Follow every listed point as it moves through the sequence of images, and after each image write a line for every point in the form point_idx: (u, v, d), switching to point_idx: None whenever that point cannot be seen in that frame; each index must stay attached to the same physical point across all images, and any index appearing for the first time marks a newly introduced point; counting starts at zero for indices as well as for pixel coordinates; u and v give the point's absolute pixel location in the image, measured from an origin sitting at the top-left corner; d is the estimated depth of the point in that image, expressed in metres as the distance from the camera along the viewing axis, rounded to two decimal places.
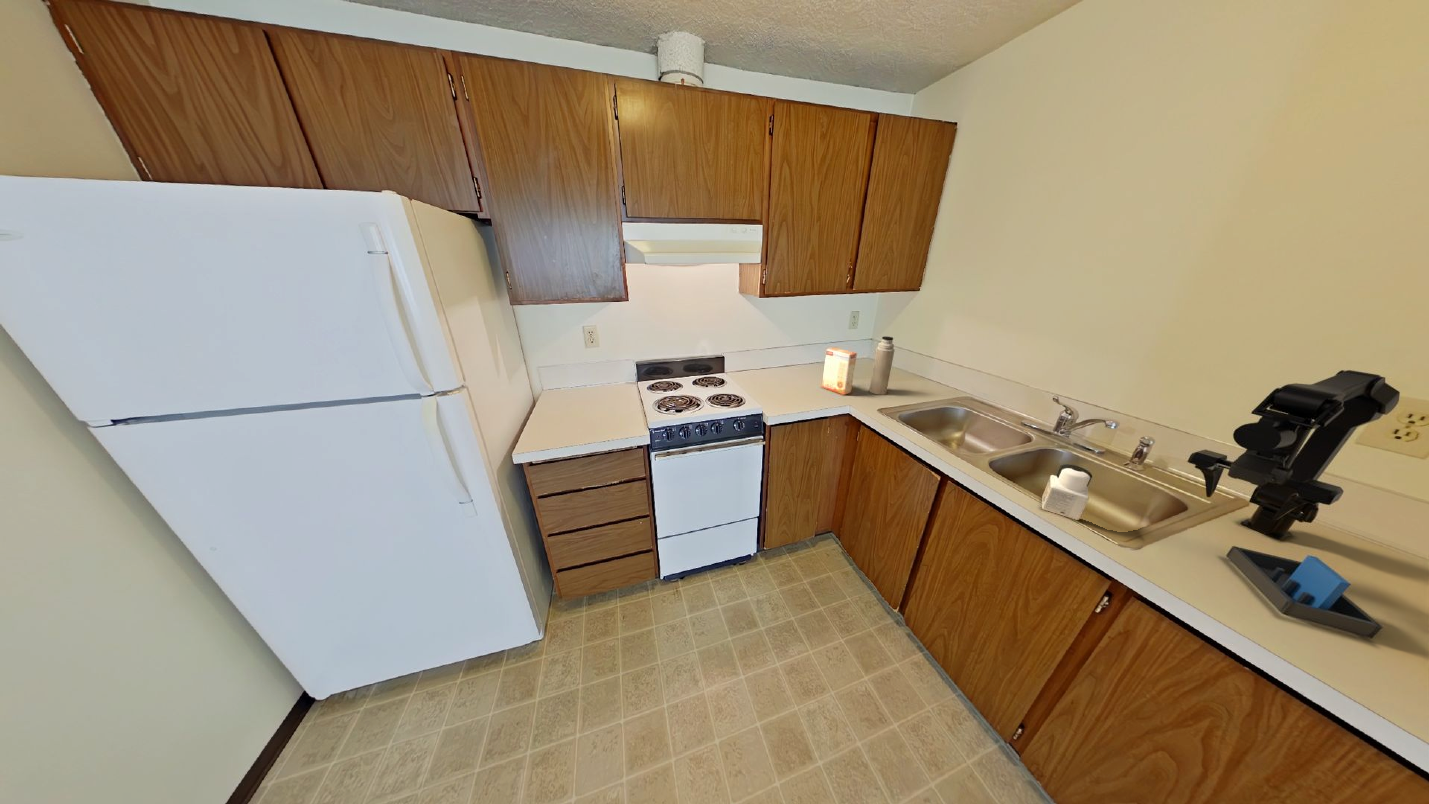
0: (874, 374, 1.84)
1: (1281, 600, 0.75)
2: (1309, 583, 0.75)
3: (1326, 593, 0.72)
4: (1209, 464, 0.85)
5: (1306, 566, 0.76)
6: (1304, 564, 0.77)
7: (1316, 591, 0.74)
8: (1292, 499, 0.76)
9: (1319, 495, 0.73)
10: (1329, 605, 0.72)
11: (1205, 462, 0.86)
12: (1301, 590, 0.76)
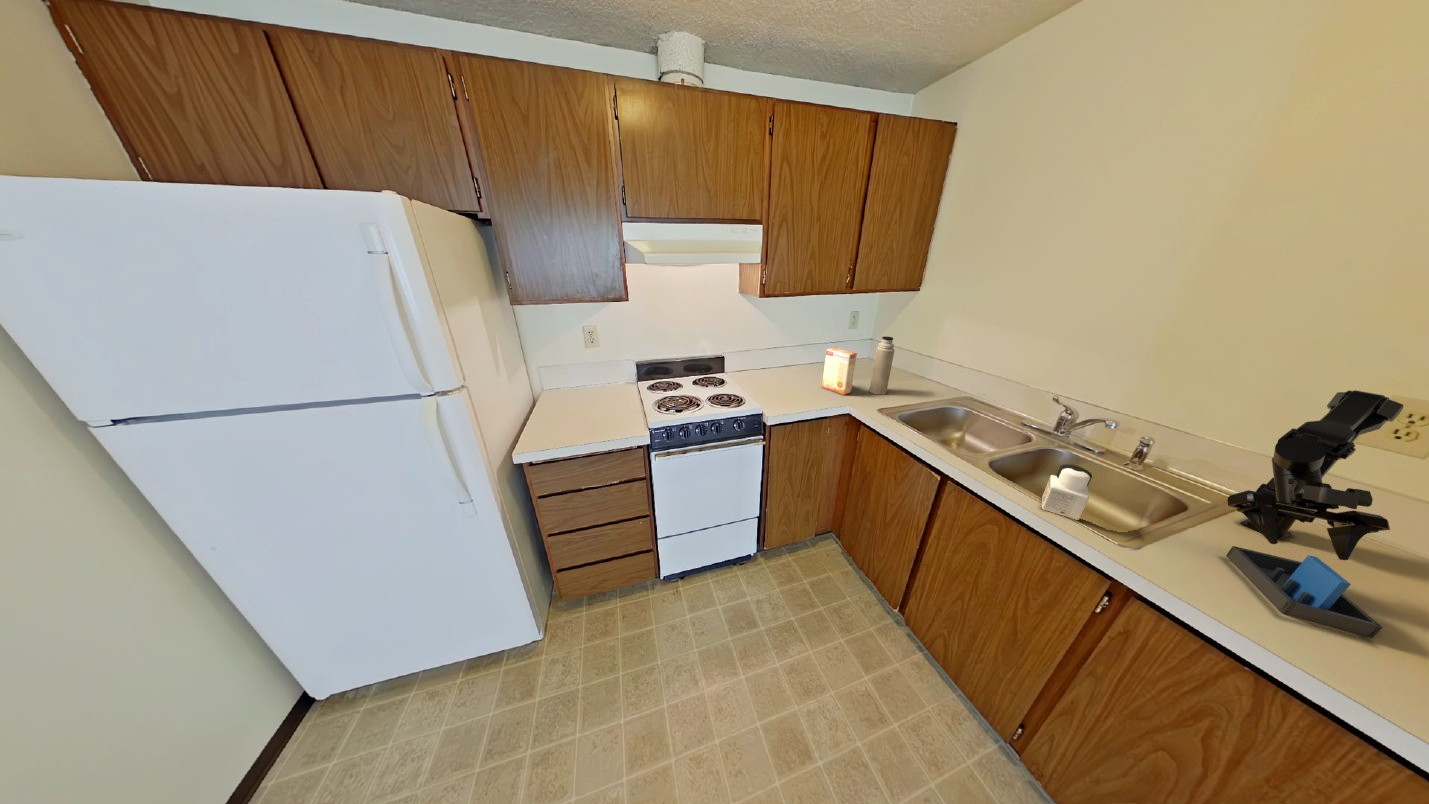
0: (874, 374, 1.84)
1: (1281, 600, 0.75)
2: (1309, 583, 0.75)
3: (1326, 593, 0.72)
4: (1272, 500, 0.79)
5: (1306, 566, 0.76)
6: (1304, 564, 0.77)
7: (1316, 591, 0.74)
8: (1358, 529, 0.74)
9: (1380, 520, 0.74)
10: (1329, 605, 0.72)
11: (1267, 499, 0.80)
12: (1301, 590, 0.76)
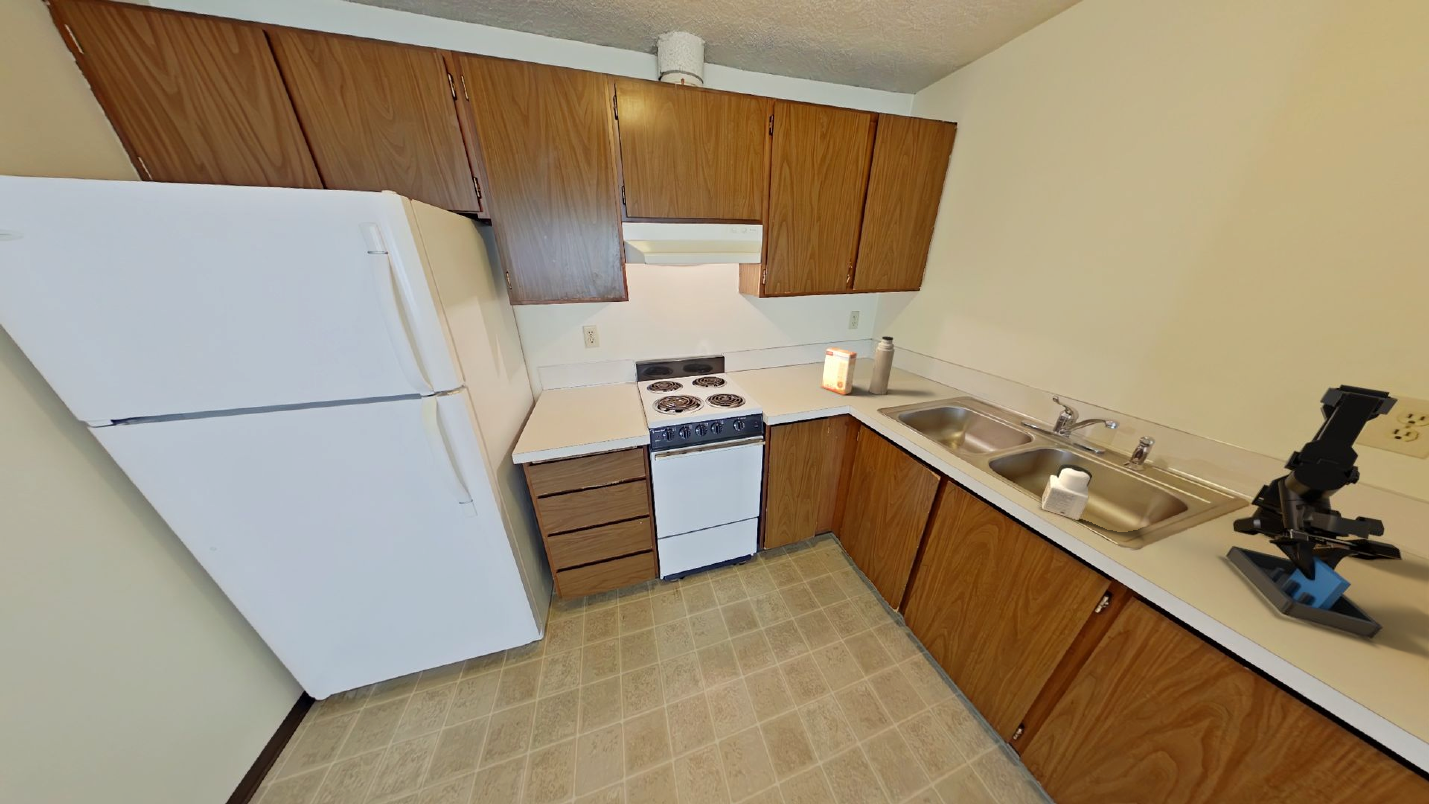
0: (874, 374, 1.84)
1: (1281, 600, 0.75)
2: (1309, 583, 0.75)
3: (1326, 593, 0.72)
4: (1280, 527, 0.77)
5: None
6: None
7: (1316, 591, 0.74)
8: (1338, 552, 0.74)
9: (1392, 549, 0.71)
10: (1329, 606, 0.72)
11: (1275, 525, 0.77)
12: (1301, 590, 0.76)
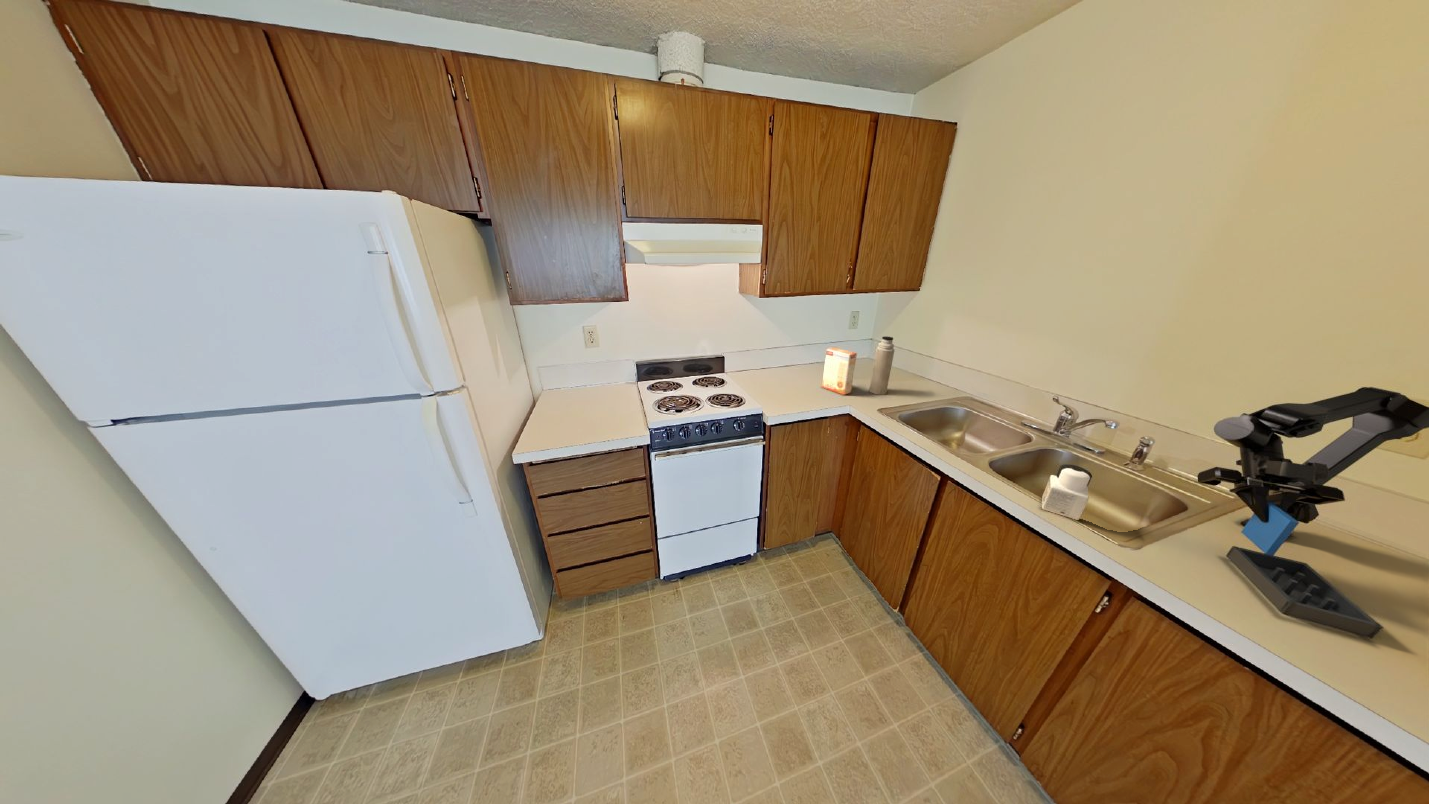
0: (874, 374, 1.84)
1: (1281, 600, 0.75)
2: (1264, 525, 0.82)
3: (1278, 532, 0.79)
4: (1238, 475, 0.84)
5: None
6: None
7: (1269, 531, 0.81)
8: (1288, 495, 0.81)
9: (1336, 491, 0.78)
10: (1281, 544, 0.79)
11: (1234, 474, 0.84)
12: (1257, 532, 0.83)
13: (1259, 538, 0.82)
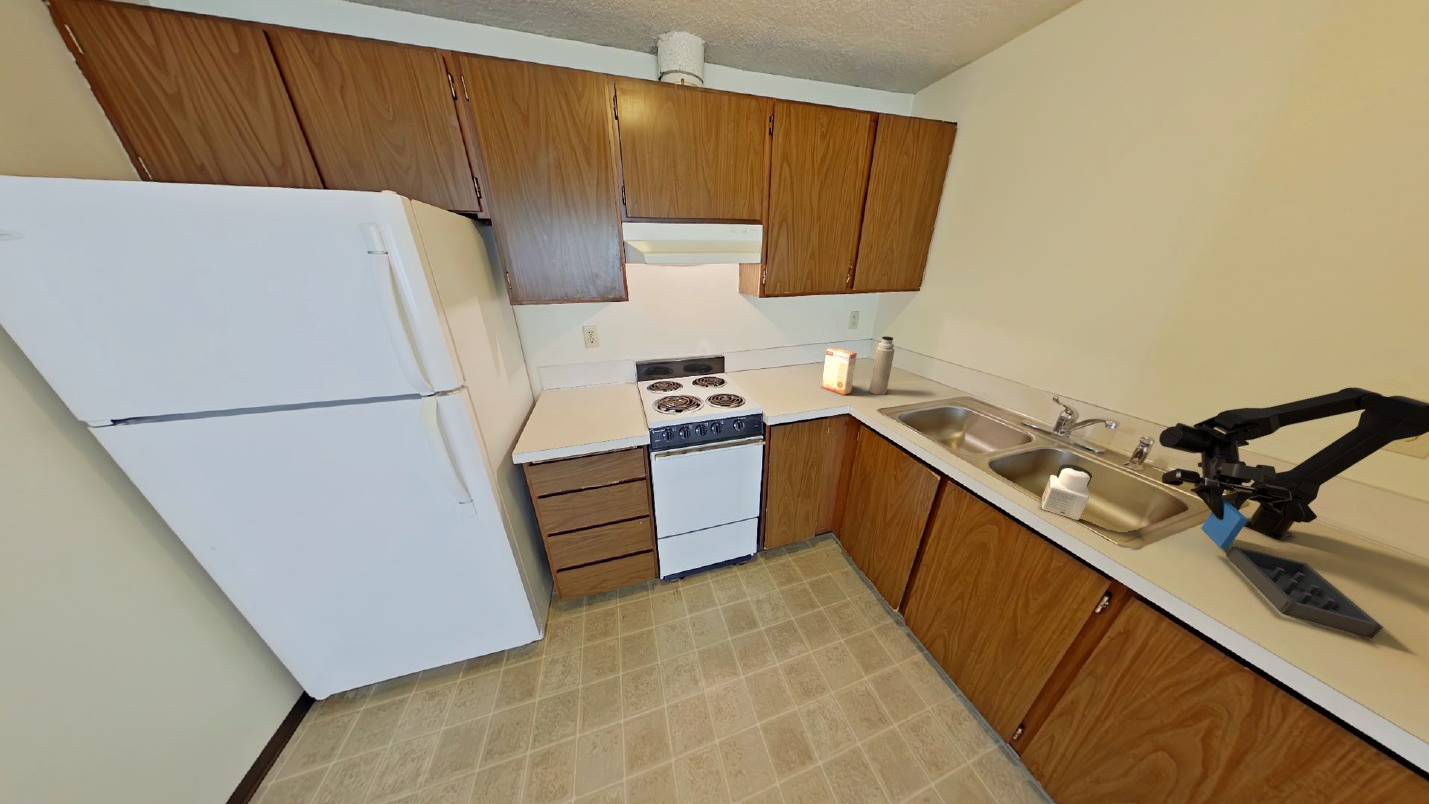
0: (874, 374, 1.84)
1: (1281, 600, 0.75)
2: (1219, 522, 0.89)
3: (1230, 528, 0.86)
4: (1196, 476, 0.91)
5: None
6: None
7: (1223, 528, 0.88)
8: (1241, 495, 0.88)
9: (1284, 491, 0.86)
10: (1233, 539, 0.87)
11: (1193, 475, 0.92)
12: (1213, 529, 0.91)
13: (1215, 534, 0.90)
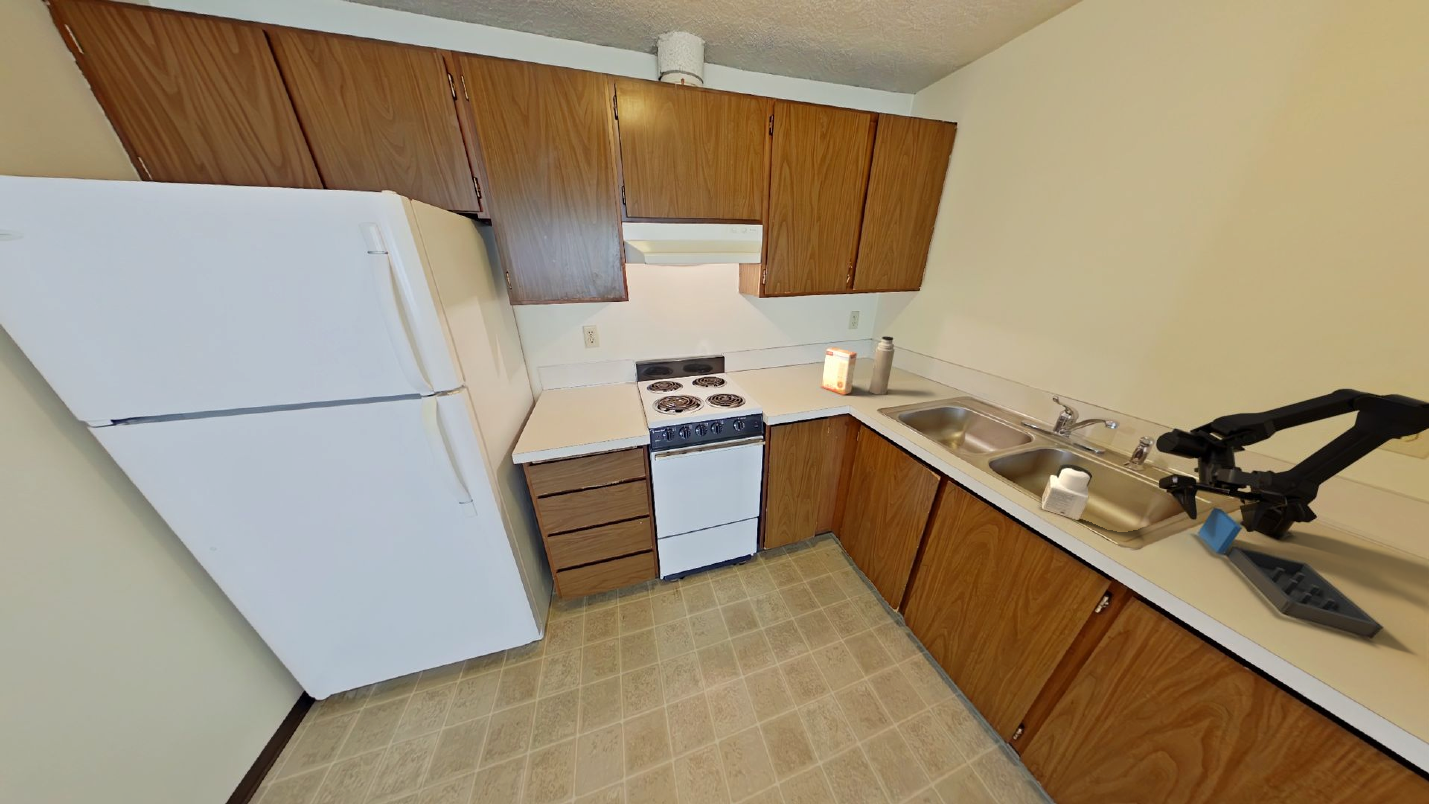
0: (874, 374, 1.84)
1: (1281, 600, 0.75)
2: (1214, 530, 0.90)
3: (1224, 537, 0.87)
4: (1193, 482, 0.92)
5: (1212, 517, 0.92)
6: (1211, 515, 0.92)
7: (1218, 536, 0.89)
8: (1261, 505, 0.87)
9: (1279, 497, 0.86)
10: (1227, 547, 0.88)
11: (1189, 480, 0.92)
12: (1208, 537, 0.92)
13: (1210, 542, 0.91)
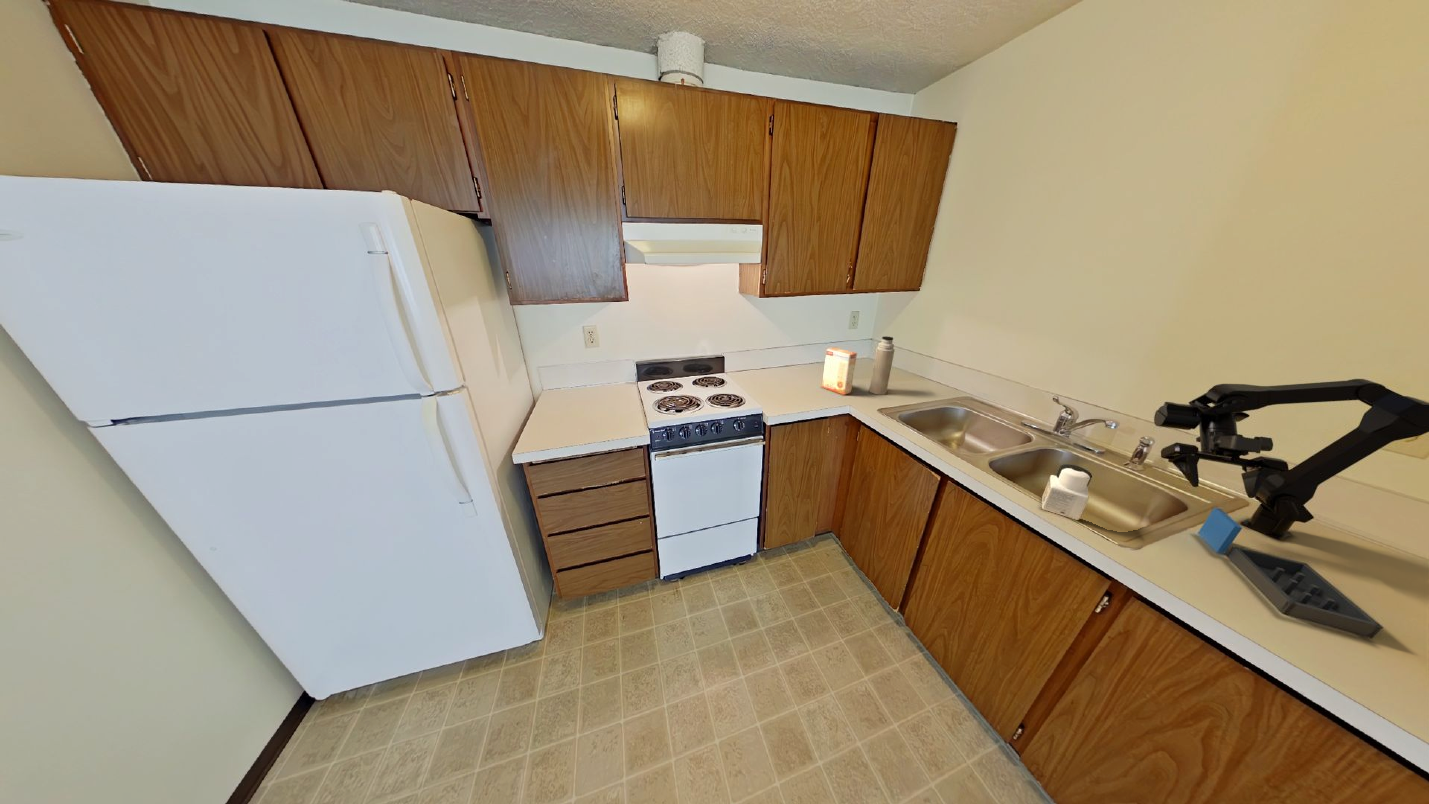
0: (874, 374, 1.84)
1: (1281, 600, 0.75)
2: (1214, 530, 0.90)
3: (1224, 537, 0.87)
4: (1195, 450, 0.92)
5: (1212, 517, 0.92)
6: (1211, 515, 0.92)
7: (1218, 536, 0.89)
8: (1263, 471, 0.88)
9: (1281, 462, 0.87)
10: (1227, 547, 0.88)
11: (1191, 448, 0.93)
12: (1208, 537, 0.92)
13: (1210, 542, 0.91)
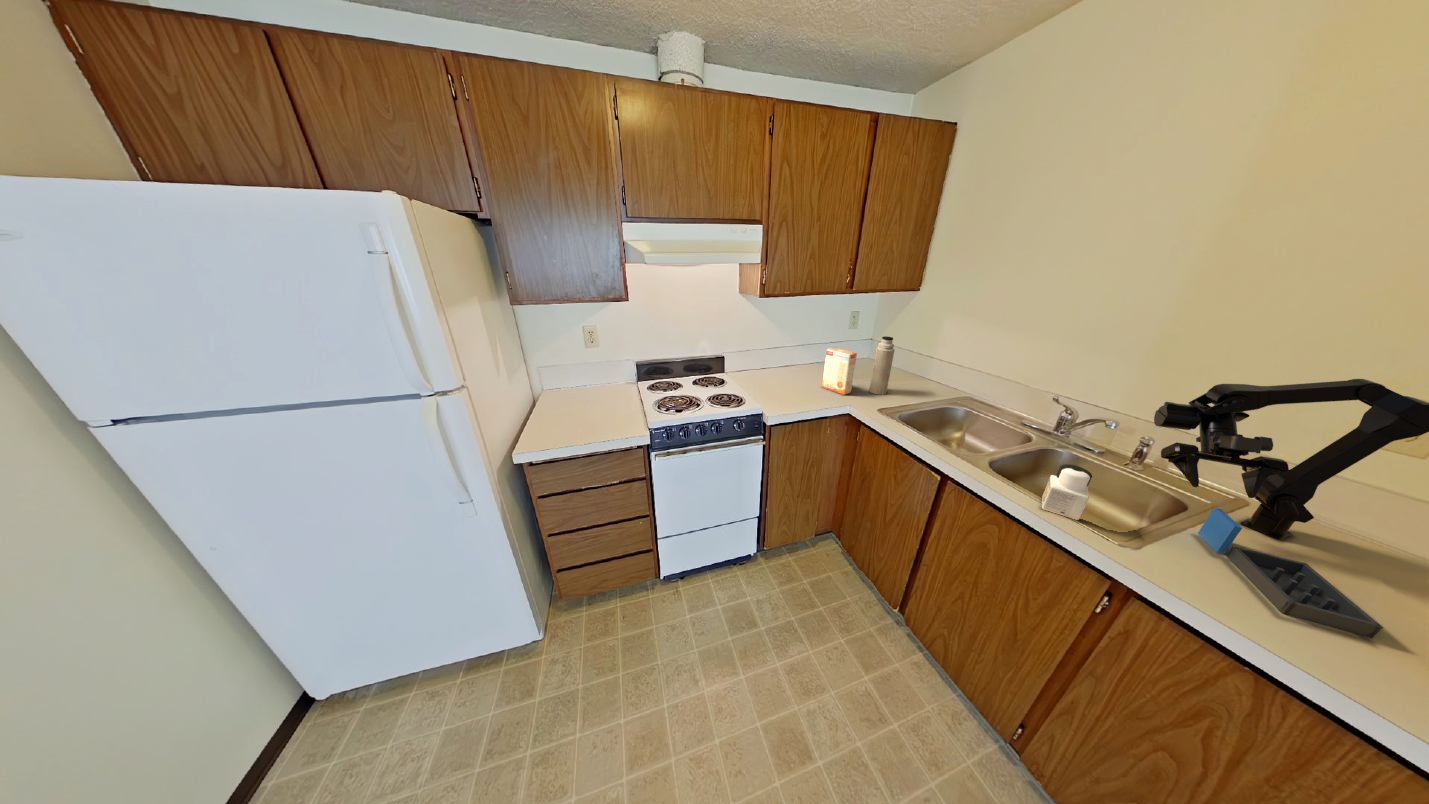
0: (874, 374, 1.84)
1: (1281, 600, 0.75)
2: (1214, 530, 0.90)
3: (1224, 537, 0.87)
4: (1195, 450, 0.92)
5: (1212, 517, 0.92)
6: (1211, 515, 0.92)
7: (1218, 536, 0.89)
8: (1263, 471, 0.87)
9: (1281, 462, 0.87)
10: (1227, 547, 0.88)
11: (1191, 448, 0.93)
12: (1208, 537, 0.92)
13: (1210, 542, 0.91)
